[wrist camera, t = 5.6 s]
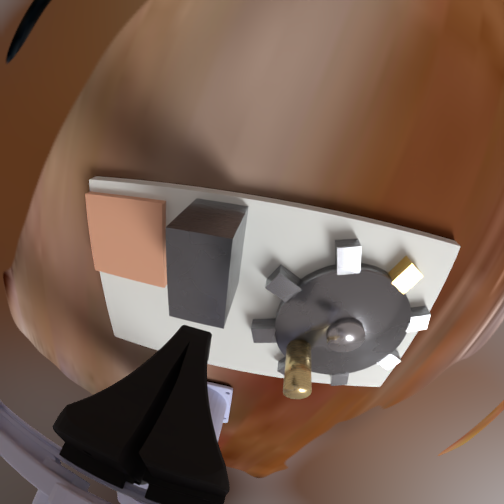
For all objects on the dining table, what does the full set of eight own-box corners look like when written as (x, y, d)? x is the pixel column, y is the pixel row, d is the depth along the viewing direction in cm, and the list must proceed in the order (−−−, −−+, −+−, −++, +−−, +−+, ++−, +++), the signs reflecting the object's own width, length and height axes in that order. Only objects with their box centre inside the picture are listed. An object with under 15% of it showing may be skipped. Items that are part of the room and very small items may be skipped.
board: (378, 379, 25) (380, 391, 24) (118, 330, 27) (112, 339, 26) (455, 240, 17) (464, 249, 16) (96, 176, 19) (84, 181, 18)
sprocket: (300, 388, 26) (297, 434, 21) (222, 289, 21) (202, 341, 16) (431, 341, 21) (449, 386, 16) (400, 209, 16) (436, 247, 11)
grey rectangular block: (238, 283, 21) (223, 328, 16) (193, 274, 21) (169, 316, 16) (248, 206, 18) (232, 239, 13) (196, 198, 18) (165, 227, 14)
